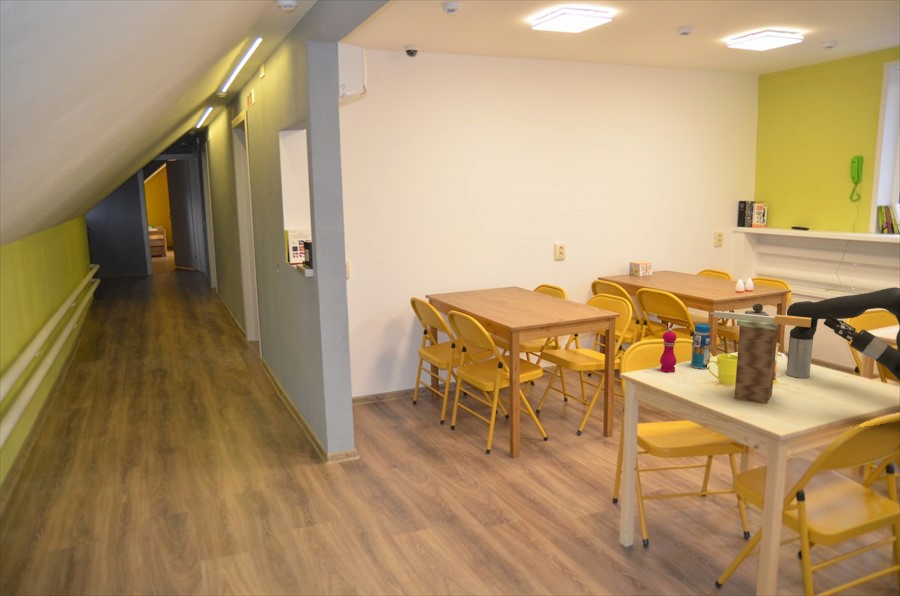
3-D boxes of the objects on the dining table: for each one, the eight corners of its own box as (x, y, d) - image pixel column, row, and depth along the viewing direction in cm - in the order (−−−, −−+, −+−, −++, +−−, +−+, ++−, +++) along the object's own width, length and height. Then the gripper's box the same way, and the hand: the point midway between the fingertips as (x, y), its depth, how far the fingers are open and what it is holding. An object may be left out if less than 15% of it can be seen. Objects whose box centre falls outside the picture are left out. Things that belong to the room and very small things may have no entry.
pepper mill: (661, 373, 297) (664, 329, 293) (657, 368, 304) (659, 326, 300) (678, 373, 297) (680, 329, 293) (673, 368, 304) (675, 326, 300)
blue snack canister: (688, 364, 310) (690, 323, 307) (706, 364, 310) (708, 323, 306) (693, 369, 302) (696, 327, 298) (712, 369, 302) (715, 327, 298)
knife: (810, 325, 247) (811, 318, 246) (809, 327, 244) (810, 319, 244) (711, 315, 266) (711, 308, 265) (709, 316, 263) (709, 309, 263)
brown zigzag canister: (775, 394, 267) (781, 317, 261) (769, 405, 255) (776, 324, 249) (738, 388, 275) (743, 313, 269) (731, 398, 262) (737, 320, 256)
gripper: (876, 332, 240) (833, 307, 246) (875, 340, 229) (831, 314, 235) (862, 348, 243) (820, 323, 250) (861, 357, 232) (817, 330, 238)
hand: (825, 318), depth 242 cm, fingers open, 8 cm apart
